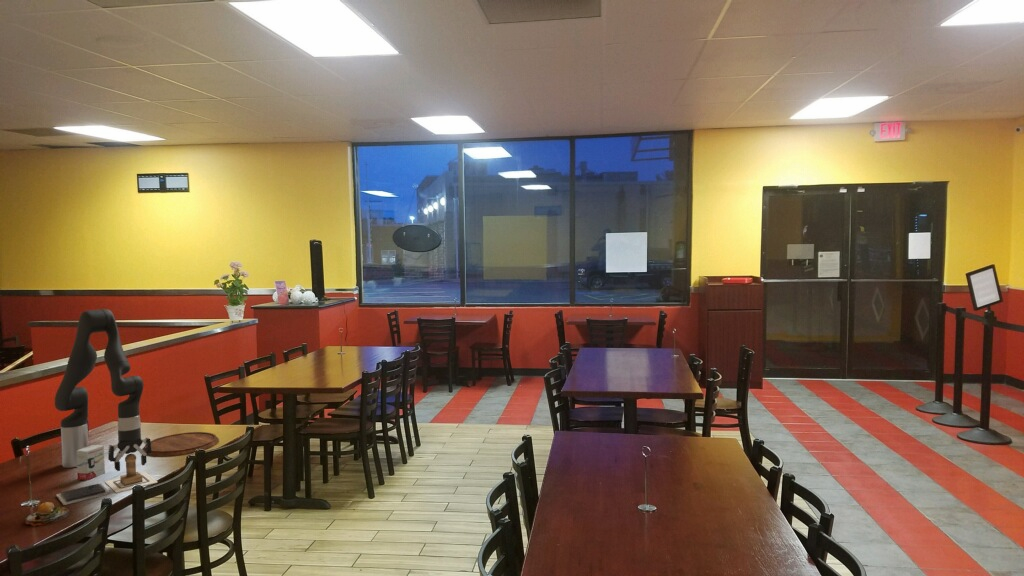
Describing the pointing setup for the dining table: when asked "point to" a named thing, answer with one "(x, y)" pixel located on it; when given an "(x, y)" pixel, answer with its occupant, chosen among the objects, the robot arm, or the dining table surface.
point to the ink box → (90, 462)
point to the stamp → (131, 471)
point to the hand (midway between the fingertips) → (130, 467)
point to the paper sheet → (119, 487)
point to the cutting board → (181, 444)
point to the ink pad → (82, 494)
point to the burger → (47, 514)
